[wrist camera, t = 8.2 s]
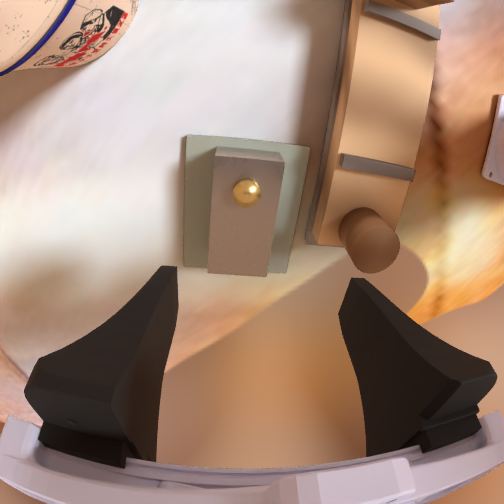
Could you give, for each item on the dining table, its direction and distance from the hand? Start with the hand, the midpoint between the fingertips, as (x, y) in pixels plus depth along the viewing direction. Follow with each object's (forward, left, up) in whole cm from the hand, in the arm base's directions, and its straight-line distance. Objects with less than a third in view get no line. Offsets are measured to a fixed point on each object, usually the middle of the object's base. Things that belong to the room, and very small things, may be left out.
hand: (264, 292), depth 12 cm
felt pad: (+1, +1, -10) cm, 10 cm away
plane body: (-7, -8, -10) cm, 15 cm away
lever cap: (+1, +1, -10) cm, 10 cm away
